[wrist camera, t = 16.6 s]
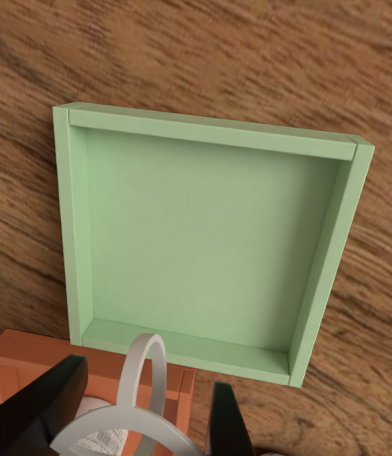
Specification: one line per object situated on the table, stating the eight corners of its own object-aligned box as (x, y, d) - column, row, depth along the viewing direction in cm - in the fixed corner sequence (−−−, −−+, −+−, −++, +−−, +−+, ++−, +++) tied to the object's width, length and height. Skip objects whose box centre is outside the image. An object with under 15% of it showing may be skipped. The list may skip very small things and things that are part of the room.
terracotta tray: (27, 450, 25) (10, 479, 24) (6, 328, 21) (-18, 353, 19) (181, 485, 24) (175, 518, 22) (196, 364, 19) (190, 394, 18)
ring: (148, 297, 9) (105, 396, 7) (223, 352, 10) (210, 464, 7) (99, 345, 10) (46, 446, 8) (168, 393, 11) (140, 502, 8)
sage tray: (87, 318, 19) (69, 344, 17) (77, 101, 14) (51, 106, 13) (296, 356, 18) (300, 389, 16) (360, 135, 13) (376, 145, 12)
